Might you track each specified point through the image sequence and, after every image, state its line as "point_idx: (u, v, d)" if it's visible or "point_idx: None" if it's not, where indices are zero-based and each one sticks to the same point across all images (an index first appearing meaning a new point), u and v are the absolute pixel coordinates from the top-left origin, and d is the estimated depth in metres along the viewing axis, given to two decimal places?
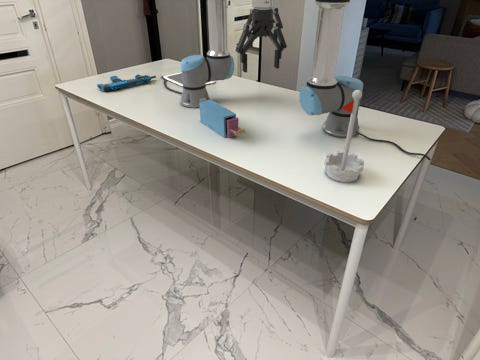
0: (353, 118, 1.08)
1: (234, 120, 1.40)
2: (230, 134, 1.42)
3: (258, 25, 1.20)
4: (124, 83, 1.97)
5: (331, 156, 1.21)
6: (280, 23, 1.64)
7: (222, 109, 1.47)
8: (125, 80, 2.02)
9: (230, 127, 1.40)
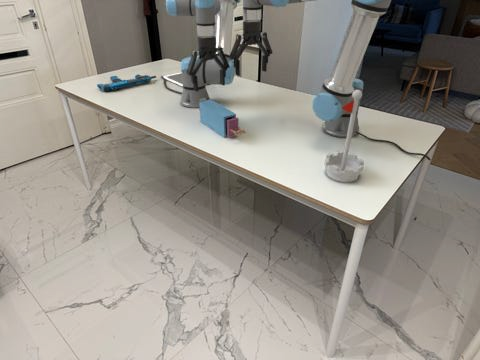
0: (353, 118, 1.08)
1: (234, 120, 1.40)
2: (230, 134, 1.42)
3: None
4: (124, 83, 1.97)
5: (331, 156, 1.21)
6: (269, 48, 1.48)
7: (222, 109, 1.47)
8: (125, 80, 2.02)
9: (230, 127, 1.40)
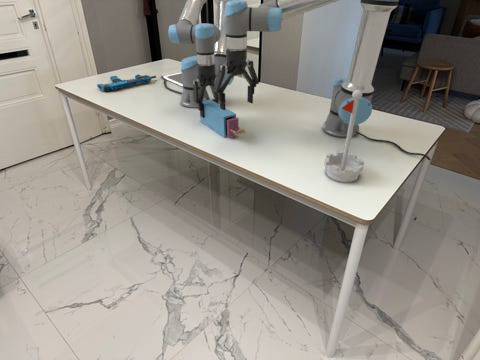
0: (353, 118, 1.08)
1: (234, 120, 1.40)
2: (230, 134, 1.42)
3: None
4: (124, 83, 1.97)
5: (331, 156, 1.21)
6: (256, 78, 1.32)
7: None
8: (125, 80, 2.02)
9: (230, 127, 1.40)
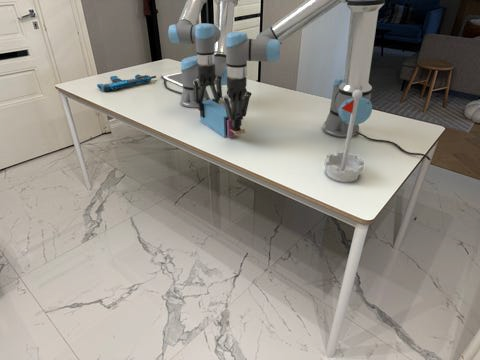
0: (353, 118, 1.08)
1: None
2: (230, 134, 1.42)
3: None
4: (124, 83, 1.97)
5: (331, 156, 1.21)
6: (245, 110, 1.36)
7: (222, 109, 1.47)
8: (125, 80, 2.02)
9: (230, 127, 1.40)
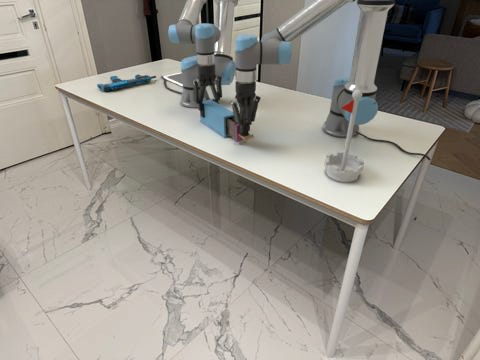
0: (353, 118, 1.08)
1: None
2: (238, 139, 1.38)
3: None
4: (124, 83, 1.97)
5: (331, 156, 1.21)
6: (254, 115, 1.32)
7: (222, 109, 1.47)
8: (125, 80, 2.02)
9: (238, 132, 1.36)
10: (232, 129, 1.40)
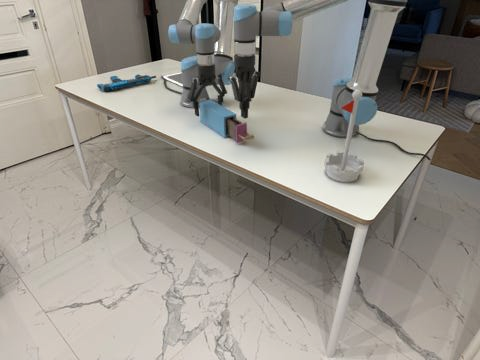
0: (353, 118, 1.08)
1: (242, 125, 1.36)
2: (238, 140, 1.38)
3: None
4: (124, 83, 1.97)
5: (331, 156, 1.21)
6: (253, 91, 1.27)
7: (222, 109, 1.47)
8: (125, 80, 2.02)
9: (238, 132, 1.36)
10: (232, 130, 1.39)
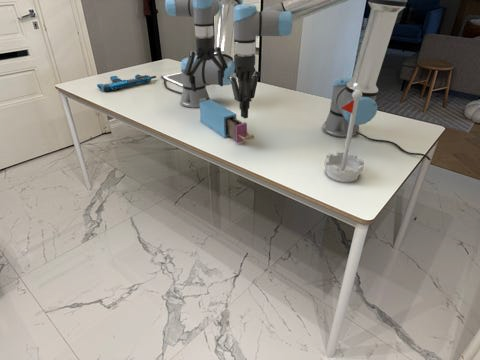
0: (353, 118, 1.08)
1: (242, 125, 1.36)
2: (238, 140, 1.38)
3: None
4: (124, 83, 1.97)
5: (331, 156, 1.21)
6: (253, 91, 1.27)
7: (222, 109, 1.47)
8: (125, 80, 2.02)
9: (238, 132, 1.36)
10: (232, 130, 1.39)
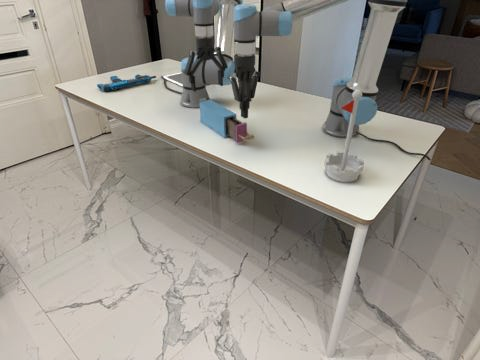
0: (353, 118, 1.08)
1: (242, 125, 1.36)
2: (238, 140, 1.38)
3: None
4: (124, 83, 1.97)
5: (331, 156, 1.21)
6: (253, 91, 1.27)
7: (222, 109, 1.47)
8: (125, 80, 2.02)
9: (238, 132, 1.36)
10: (232, 130, 1.39)
